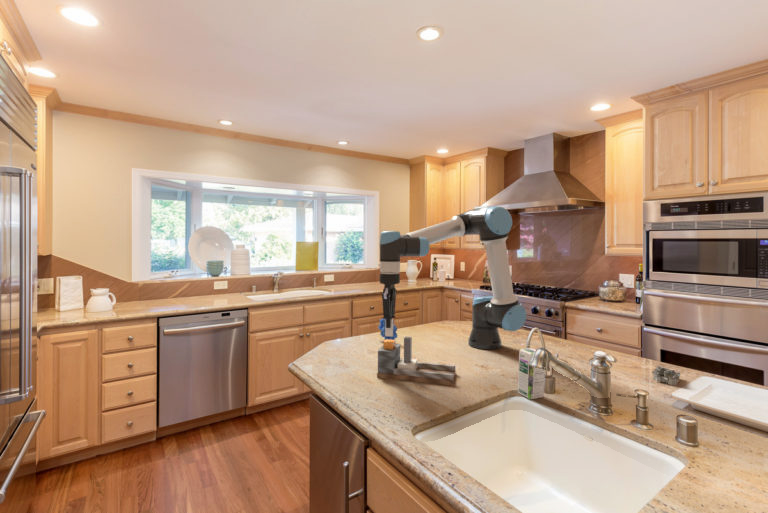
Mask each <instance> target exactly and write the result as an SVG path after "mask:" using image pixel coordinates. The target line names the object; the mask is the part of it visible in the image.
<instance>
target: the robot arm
mask: <svg viewBox="0 0 768 513" xmlns="http://www.w3.org/2000/svg"><path fill="white" fill-rule="evenodd" d="M512 227H513V218H512V215H511V213H510V212H509V211H508V210H507V209H506V208H504V207H502V206H495V205H494V206H486V207H480V208H479V207H478V208H472V209H470V210H468V211H465V212H463V213H460V214H457V215H454V216H452V218H451V219H448V220H446V221H442V222H440V223H437V224H433V225H431V226H426V227H424V228H420V229H417V230H415V231H411V232H408V233H405V234H401V232H400V231H398V230H397V231H396V230H386V231H385V230H384V231H382V232H380V233H379V243H378V244H379V263H378V264H377V265H378V267H379V272H380V274H379V284H382V285H384V287H383V290H382V293H381V301H382V312H383V315H382V316H383V317H382V319H385V336H390V337H392V336H393V325H394V324H393V322H394V319H396V315H395V314H396V302H397V301H396V300H397V292H398V291H397V288H396V287H395V286H396V285H398V284H400V282H401V281H400V280H401V274H400V272H401V257H402V258H403V257H406V258H407V257H414V258H415V257H418V258H420V257H425V256H427V255H428V254H429V252H430V245H434V244H436V243H440V242H443V241H445V240H448V239H450V238H455V237H459V238H461V237H464V236H473V235H475V236H478V235H479V240H480V242H481V243H482V244H484V246H485V247H484V248H485V254H486V261H487V267H488V273H489V279H490V284H491V292H492V296H476V297H474V298H473V299H472V310H471V311H472V318H471V319H472V328H471V331H470V334H469V337H468V339H467V340H468V343H467V344H468V346H470V347H472V348H475V349H479V350H498V349H500V348H502V338H501V336H500V332H499V329H501V330H504V331H506V332H507V331H509V332H516V331H517V332H518V331H519V330H520V329H521V328H522V327H523V326H524V324H525V322H526V320H527V310H526V308H525V307H523V306H522V305H521V304H520V303H519V298H518V296H517V295H515V294H514V289H513V283H512V276H511V268H510V263H509V261H510V260H509V257H508V251H507V250H508V249H507V244H506V242H507V239H508V238H509V233H510V231H511V230H512Z"/></svg>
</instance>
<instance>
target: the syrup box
mask: <svg viewBox="0 0 768 513" xmlns="http://www.w3.org/2000/svg"><path fill="white" fill-rule="evenodd" d="M536 350H537V349H534V348H531V347H529V348H522V349H519V351H518V352H519V353H518V354H519V355H518V380H517V381H518V383H517V384H518V386H517V393H518V394H520V395H521V396H523V397H525V398H526V399H527V400H536V399H540V398H544V389H545V388H544V387H545V369H544V370H543V369H539V368H535V367H532V366H530V364H529V363H530V360H531V358H532V356H533V354H534V353H535V351H536Z"/></svg>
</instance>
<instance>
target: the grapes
mask: <svg viewBox="0 0 768 513" xmlns="http://www.w3.org/2000/svg"><path fill="white" fill-rule="evenodd" d="M378 329H379V331H380V336H381V337H382V338H384V341H385V340H386V339H388V340H395V341H396V339H397V338H398V333H397V331H398V327H397V326H396V325H395V324H394V321H393V336H392V337H390V336H385V319H383V318H380V319H379V325H378Z"/></svg>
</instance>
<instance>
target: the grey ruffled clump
mask: <svg viewBox="0 0 768 513" xmlns="http://www.w3.org/2000/svg"><path fill="white" fill-rule="evenodd" d="M652 374H653V379H652V380H653V381H654V380H656V381H657V382H656V381H655V382H656V383H658V382H666V383H665V384H667V383H668V384H670V385H669V386H677V385H678V382H679V381H680V376H681V372H680V371H675V369H670V368H667V367H662V366H660V365H658V366H657V367H656V368H655V369H654V370H653V371H652ZM663 375H664V376H663ZM668 384H667V385H668Z"/></svg>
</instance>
